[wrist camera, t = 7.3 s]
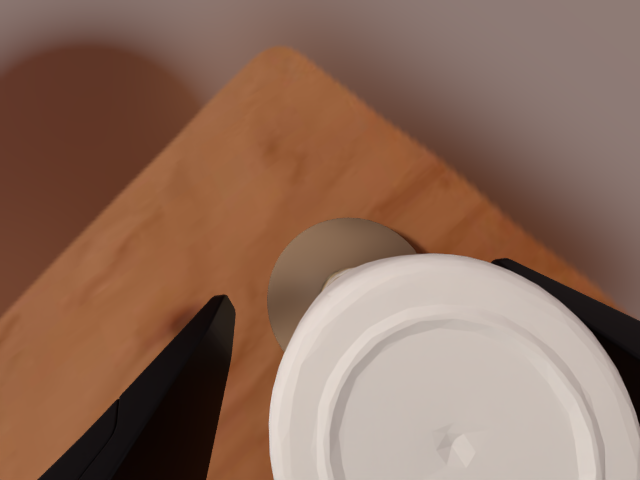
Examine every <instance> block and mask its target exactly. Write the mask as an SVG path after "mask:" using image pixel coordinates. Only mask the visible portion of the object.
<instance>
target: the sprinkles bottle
mask: <svg viewBox="0 0 640 480" xmlns="http://www.w3.org/2000/svg"><path fill="white" fill-rule="evenodd" d="M269 442H270V458H271V465H272V472H273V477H274V480H640V426H639V422H638V419H637V415H636V412H635V409H634V407H633V404H632V402H631V399H630V397H629V394H628V391H627V389H626V387H625V385H624V383H623V381H622V378H621V376H620V374H619V372H618V370H617V368H616V366H615V365H614V363H613V362H612V360H611V359H610V357H609V356H608V354H607V353H606V351H605V350H604V348H603V347H602V346H601V344H600V343H599V341H598V340H597V339H596V337H595V336H594V334H593V333H592V332H591V331H590V330H589V329H588V328H587V327H586V325H585V324H584V323H583V322H582V321H581V320H580V319H579V318H578V317H577V316H576V315H575V314H574V313H573V312H571V311H570V310H569V309H568V308H567V307H566V306H565V305H564V304H563V303H561V302H560V301H559V300H558V299H556V298H555V297H554V296H552V295H551V294H549V293H548V292H547V291H545V290H544V289H543V288H541V287H540V286H538V285H537V284H535V283H533V282H531V281H529V280H528V279H526V278H524V277H522V276H520V275H518V274H516V273H514V272H512V271H510V270H507V269H505V268H502V267H500V266H497V265H495V264H492V263H489V262H486V261H482V260H478V259H474V258H470V257H465V256H458V255H450V254H431V253H430V254H415V255H403V256H396V257H390V258H384V259H379V260H376V261H372V262H368V263H365V264H363V265H360V266H358V267H355V268H345V269H343V270H341V271H339V272H336V273H335V274H333V275H332V276H331V277H330V278H329V280H328V281H327V282H326V284H325V285H324V287H323V289H322V292H321V293H320V294H319V295H318V296H317V298H316V299H315V300H314V302H313V303H312V304H311V306H310V307H309V308H308V310H307V311H306V313H305V314H304V316H303V317H302V319H301V320H300V322H299V324H298V326H297V328H296V330H295V332H294V334H293V336H292V338H291V340H290V342H289V344H288V346H287V348H286V351H285V353H284V356H283V358H282V361H281V363H280V366H279V369H278V373H277V376H276V380H275V383H274V387H273V391H272V398H271V404H270V415H269Z"/></svg>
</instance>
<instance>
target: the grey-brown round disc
mask: <svg viewBox="0 0 640 480" xmlns="http://www.w3.org/2000/svg"><path fill="white" fill-rule="evenodd" d="M415 254H417V253H416V251H415V250H414V249H413V248H412V246H411V245H410V244H409V243H408V242H407V241H406V240H405V239H403V238H402V237H401V236H400V235H399V234H397V233H396V232H394V231H393V230H391V229H389V228H388V227H385V226H383V225H381V224H379V223H376V222H373V221H370V220H365V219H360V218H337V219H332V220H327V221H324V222H321V223H318V224H316V225H314V226H312V227H310V228H308V229H307V230H305V231H304V232H302V233H301V234H299V235H298V236H297V237H296V238H295V239H293V240H292V241H291V242H290V244H289V245H288V246H287V247H286V248H285V249H284V251H283V252H282V254H281V255H280V257H279V258H278V260H277V262H276V264H275V266H274V269H273V271H272V274H271V277H270V282H269V286H268V295H267V306H268V314H269V320H270V323H271V327H272V330H273V332H274V335H275V337H276V339H277V341H278V343H279V345H280V346H281V348H282V350H283V351H284V352H285V351H286V348H287V346H288V344H289V342H290V340H291V338H292V336H293V334H294V332H295V330H296V328H297V326H298V324H299V322H300V320H301V319H302V317H303V316H304V314H305V313H306V311H307V310H308V308H309V307H310V306H311V304H312V303H313V302H314V300H315V299H316V298H317V296H318V295H319V294H320V293H321V292H322V289H323V287H324V285H325V284H326V282H327V281H328V280H329V278H330V277H331V276H332V275H333V274H335V273H336V272H339V271H341V270H343V269H345V268H355V267H358V266H360V265H363V264H365V263H368V262H372V261H376V260H379V259H384V258H390V257H396V256H403V255H415Z"/></svg>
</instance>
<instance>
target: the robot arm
mask: <svg viewBox="0 0 640 480" xmlns="http://www.w3.org/2000/svg"><path fill="white" fill-rule="evenodd" d="M491 263H492V264H495V265H497V266H500V267H502V268H505V269H507V270H510V271H512V272H514V273H516V274H518V275H520V276H522V277H524V278H526V279H528V280H529V281H531V282H533V283H535V284H537V285H538V286H540V287H541V288H543V289H544V290H545V291H547V292H548V293H549V294H551V295H552V296H554V297H555V298H556V299H558V300H559V301H560V302H561V303H563V304H564V305H565V306H566V307H567V308H568V309H569V310H570V311H571V312H573V313H574V314H575V315H576V316H577V317H578V318H579V319H580V320H581V321H582V322H583V323H584V324H585V325H586V327H587V328H588V329H589V330H590V331H591V332H592V333H593V334H594V336H595V337H596V339H597V340H598V341H599V343H600V344H601V346H602V347H603V348H604V350H605V351H606V353H607V354H608V356H609V357H610V359H611V360H612V362H613V363H614V365H615V366H616V368H617V370H618V372H619V374H620V376H621V378H622V381H623V383H624V385H625V387H626V389H627V391H628V394H629V397H630V399H631V402H632V404H633V407H634V409H635V412H636V415H637V419H638V422H639V426H640V321H639V320H637V319H634V318H632V317H630V316H628V315H626V314H624V313H622V312H620V311H618V310H616V309H613V308H611V307H609V306H607V305H605V304H603V303H601V302H599V301H597V300H595V299H592V298H590V297H588V296H586V295H584V294H582V293H580V292H578V291H576V290H574V289H571V288H569V287H567V286H565V285H563V284H561V283H559V282H557V281H555V280H553V279H550V278H548V277H546V276H544V275H542V274H540V273H538V272H536V271H534V270H532V269H529V268H527V267H525V266H523V265H521V264H519V263H517V262H515V261H513V260H511V259H508V258H502V259H495V260H493V261H492V262H491ZM235 315H236V314H235V309H234V307H233V305H232V303H231V301H230V300H229V298H228V296H227V295H216V296H214V297H212V298H211V299H210V300H209V301H208V302H207V303H206V305H205V306H204V307H203V308H202V309H201V310H200V311H199V312H198V313H197V314H196V315H195V316H194V317H193V318H192V320H191V321H190V322H189V323H188V324H187V325H186V326H185V327H184V328H183V329H182V330H181V331H180V332H179V333H178V335H177V336H176V337H175V338H174V339H173V340H172V341H171V342H170V343H169V344H168V345H167V346H166V347H165V348H164V350H163V351H162V352H161V353H160V354H159V355H158V356H157V357H156V358H155V359H154V360H153V361H152V362H151V363H150V365H149V366H148V367H147V368H146V369H145V370H144V371H143V372H142V373H141V374H140V375H139V376H138V377H137V378H136V380H135V381H134V382H133V383H132V384H131V385H130V386H129V387H128V388H127V389H126V390H125V391H124V392H123V393H122V395H121V396H120V397H119V399H117V400H116V401H115V402H114V403H113V404H112V405H111V406H110V407H109V408H108V409H107V410H106V412H105V413H104V414H103V415H102V416H101V417H100V418H99V419H98V420H97V421H96V422H95V423H94V424H93V425H92V426H91V427H90V428H89V429H88V430H87V431H86V432H85V433H84V434H83V436H82V437H81V438H80V439H78V440H77V441H76V442H75V443H74V444H73V445H72V446H71V447H70V448H69V449H68V450H67V451H66V452H65V453H64V454H63V455H62V456H61V457H60V458H59V459H58V460H57V461H56V462H55V463H54V464H53V465H52V466H51V467H50V468H49V469H48V470H47V471H46V472H45V473H44V474H43V475H42V476H41V477H40V478H39V479H38V480H206V478H207V473H208V468H209V463H210V459H211V454H212V449H213V444H214V439H215V434H216V430H217V425H218V420H219V415H220V410H221V406H222V401H223V396H224V391H225V386H226V381H227V377H228V372H229V367H230V362H231V356H232V347H233V336H234V326H235Z"/></svg>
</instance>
